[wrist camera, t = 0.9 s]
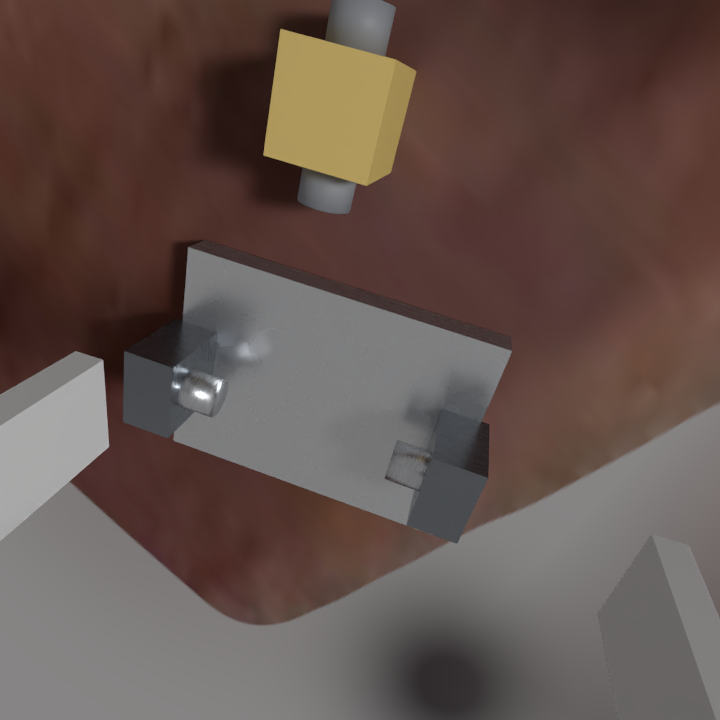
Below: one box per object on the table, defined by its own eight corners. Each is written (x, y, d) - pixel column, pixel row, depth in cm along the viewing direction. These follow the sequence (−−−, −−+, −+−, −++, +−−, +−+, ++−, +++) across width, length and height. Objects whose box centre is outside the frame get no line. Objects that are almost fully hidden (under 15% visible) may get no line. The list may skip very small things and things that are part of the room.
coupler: (331, 0, 25) (288, -31, 20) (428, 25, 25) (410, 0, 19) (299, 184, 29) (257, 198, 24) (381, 208, 29) (356, 229, 24)
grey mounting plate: (182, 423, 39) (122, 482, 33) (197, 237, 32) (125, 267, 26) (441, 517, 37) (430, 599, 31) (519, 340, 30) (525, 399, 24)
